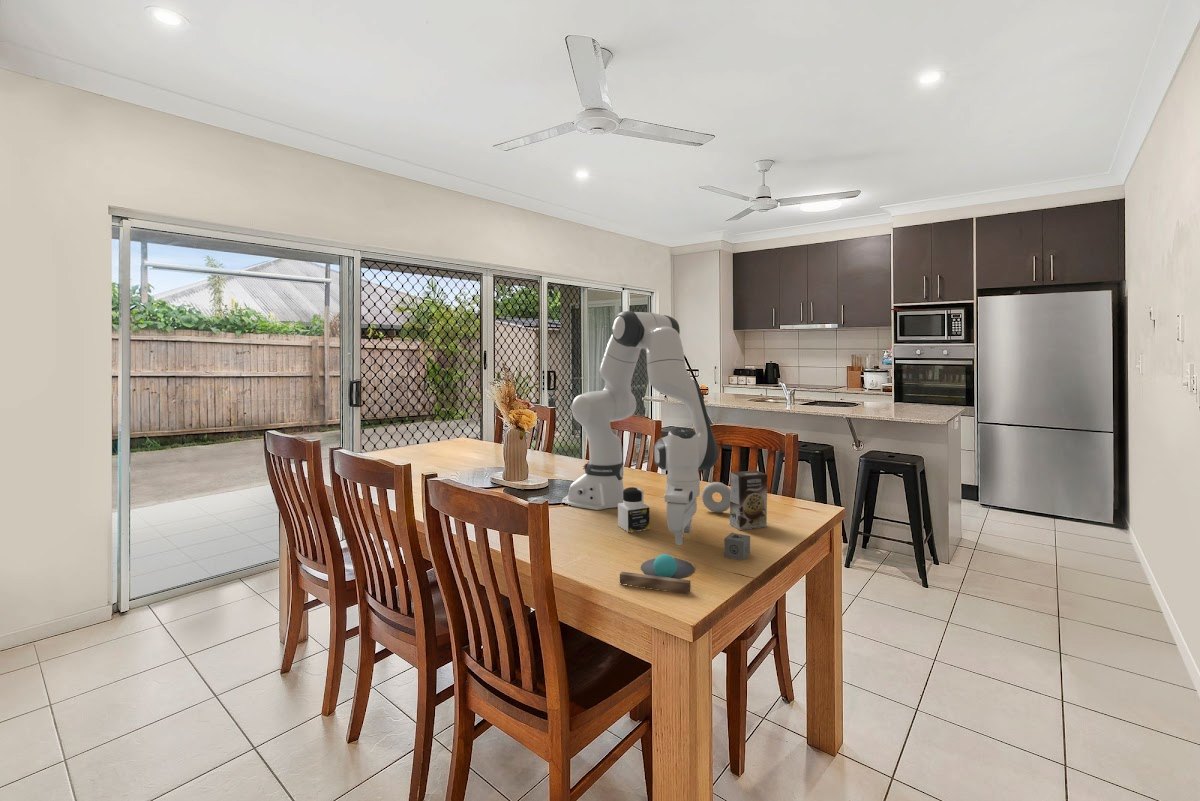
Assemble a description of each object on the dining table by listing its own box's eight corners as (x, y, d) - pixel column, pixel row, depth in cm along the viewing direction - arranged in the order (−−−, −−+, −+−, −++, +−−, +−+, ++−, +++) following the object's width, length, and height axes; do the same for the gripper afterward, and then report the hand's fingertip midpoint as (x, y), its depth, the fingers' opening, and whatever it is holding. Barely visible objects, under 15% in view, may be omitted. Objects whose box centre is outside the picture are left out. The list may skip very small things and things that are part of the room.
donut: (733, 512, 187) (733, 482, 186) (731, 515, 184) (731, 484, 182) (703, 509, 191) (703, 479, 190) (700, 512, 188) (700, 481, 187)
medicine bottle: (628, 533, 169) (627, 492, 167) (617, 526, 175) (617, 487, 174) (649, 529, 171) (649, 489, 170) (638, 523, 178) (638, 484, 177)
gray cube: (731, 551, 153) (731, 532, 153) (750, 554, 150) (750, 535, 150) (724, 557, 149) (724, 538, 148) (743, 560, 146) (743, 541, 146)
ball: (656, 568, 140) (650, 579, 135) (657, 548, 139) (651, 558, 134) (678, 573, 139) (673, 585, 134) (680, 552, 137) (674, 563, 132)
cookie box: (739, 530, 169) (740, 476, 167) (729, 524, 175) (729, 471, 173) (767, 527, 171) (768, 474, 170) (756, 521, 177) (756, 469, 176)
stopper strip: (619, 584, 133) (619, 574, 133) (622, 581, 134) (621, 571, 134) (688, 594, 127) (688, 583, 127) (690, 591, 129) (690, 580, 129)
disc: (634, 575, 138) (634, 574, 138) (649, 555, 150) (649, 555, 150) (688, 582, 134) (688, 581, 134) (698, 561, 146) (698, 560, 146)
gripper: (680, 479, 168) (680, 525, 169) (662, 497, 149) (662, 549, 150) (702, 480, 166) (702, 527, 167) (686, 499, 147) (686, 552, 148)
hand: (683, 538), depth 159 cm, fingers open, 8 cm apart
